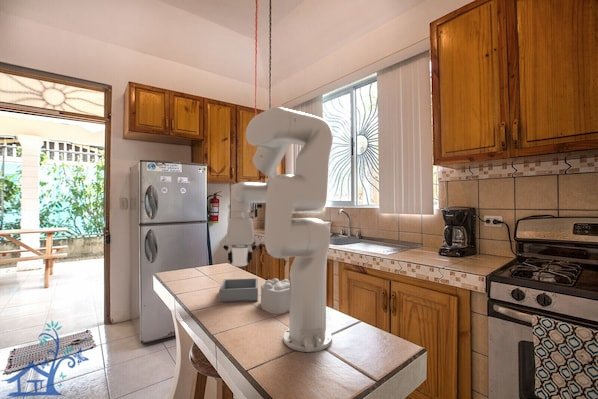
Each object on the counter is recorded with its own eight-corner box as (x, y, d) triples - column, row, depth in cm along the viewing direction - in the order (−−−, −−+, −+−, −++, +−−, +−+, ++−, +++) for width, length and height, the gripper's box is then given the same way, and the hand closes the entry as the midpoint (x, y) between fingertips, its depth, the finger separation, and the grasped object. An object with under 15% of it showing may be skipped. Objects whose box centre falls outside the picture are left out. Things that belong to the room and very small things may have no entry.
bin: (257, 301, 98) (257, 288, 98) (219, 302, 96) (219, 289, 96) (257, 289, 111) (257, 278, 112) (223, 290, 109) (223, 279, 109)
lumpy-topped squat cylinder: (275, 315, 85) (275, 288, 86) (253, 304, 95) (253, 279, 95) (300, 307, 92) (300, 282, 92) (277, 297, 102) (277, 274, 102)
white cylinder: (250, 263, 107) (251, 245, 107) (245, 267, 100) (246, 248, 100) (234, 262, 108) (234, 244, 108) (228, 266, 101) (228, 247, 101)
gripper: (262, 215, 109) (262, 259, 109) (218, 215, 107) (218, 260, 106) (263, 216, 102) (262, 263, 102) (216, 216, 99) (215, 265, 99)
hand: (240, 261), depth 104 cm, fingers closed on white cylinder, 6 cm apart
